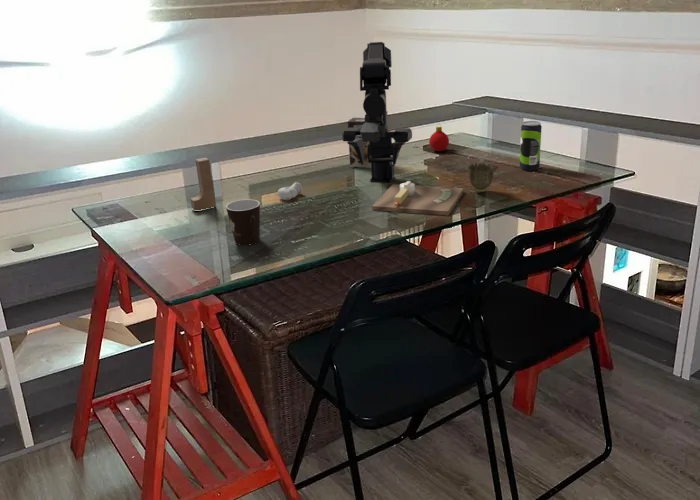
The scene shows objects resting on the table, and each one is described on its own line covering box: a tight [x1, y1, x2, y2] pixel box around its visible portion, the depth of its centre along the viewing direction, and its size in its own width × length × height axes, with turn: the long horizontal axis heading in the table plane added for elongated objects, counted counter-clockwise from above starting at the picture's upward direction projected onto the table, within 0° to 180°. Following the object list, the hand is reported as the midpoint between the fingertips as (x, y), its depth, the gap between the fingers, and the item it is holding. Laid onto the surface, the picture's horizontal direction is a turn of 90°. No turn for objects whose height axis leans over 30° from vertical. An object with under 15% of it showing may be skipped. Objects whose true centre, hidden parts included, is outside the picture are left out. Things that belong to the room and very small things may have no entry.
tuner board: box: [371, 184, 464, 216], centre depth 195 cm, size 22×20×1 cm
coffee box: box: [347, 117, 372, 169], centre depth 229 cm, size 9×6×16 cm
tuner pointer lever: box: [394, 180, 416, 206], centre depth 193 cm, size 14×4×3 cm, turn 159°
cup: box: [467, 162, 495, 194], centre depth 198 cm, size 8×7×8 cm
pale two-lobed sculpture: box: [277, 181, 303, 201], centre depth 205 cm, size 4×8×5 cm
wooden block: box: [189, 157, 217, 210], centre depth 197 cm, size 7×3×15 cm, turn 121°
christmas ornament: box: [428, 123, 450, 152], centre depth 242 cm, size 7×7×10 cm
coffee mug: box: [225, 198, 261, 246], centre depth 172 cm, size 12×9×10 cm
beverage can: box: [519, 120, 542, 172], centre depth 215 cm, size 6×6×15 cm
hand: (378, 164), depth 189 cm, fingers open, 9 cm apart
